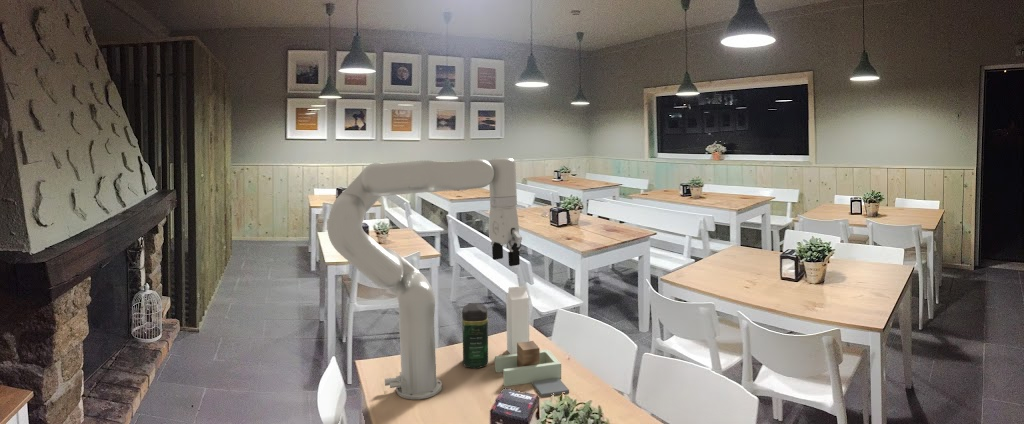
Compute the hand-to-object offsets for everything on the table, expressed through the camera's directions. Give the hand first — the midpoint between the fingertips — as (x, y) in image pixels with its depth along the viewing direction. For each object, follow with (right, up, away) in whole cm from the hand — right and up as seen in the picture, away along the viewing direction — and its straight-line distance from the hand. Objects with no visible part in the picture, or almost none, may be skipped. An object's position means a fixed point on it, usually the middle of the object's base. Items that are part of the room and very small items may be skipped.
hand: (505, 262), depth 154 cm
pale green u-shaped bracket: (+6, -34, +6) cm, 35 cm away
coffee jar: (-10, -33, +15) cm, 38 cm away
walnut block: (+7, -34, +6) cm, 35 cm away
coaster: (+12, -35, -3) cm, 37 cm away
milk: (+4, -32, +23) cm, 40 cm away
